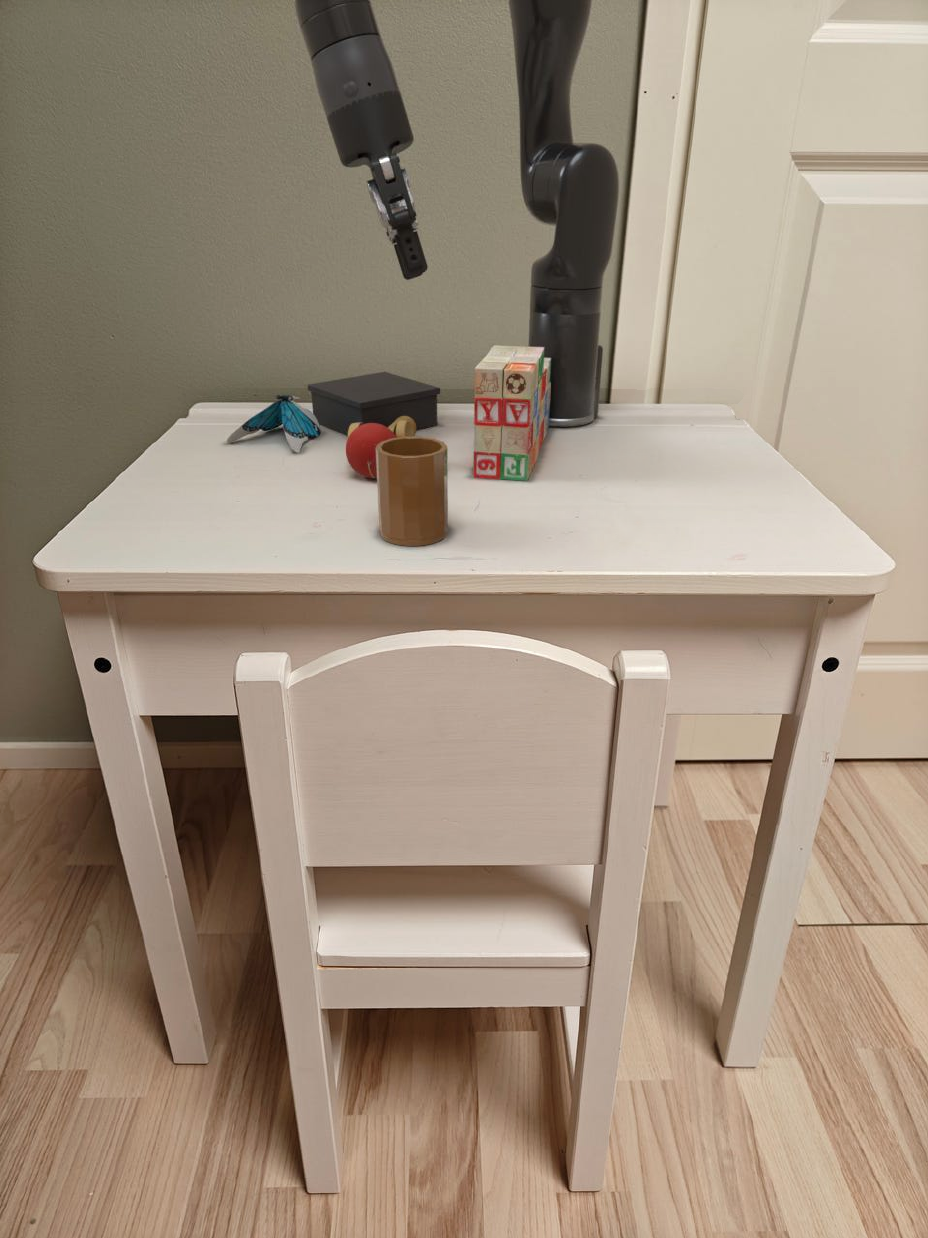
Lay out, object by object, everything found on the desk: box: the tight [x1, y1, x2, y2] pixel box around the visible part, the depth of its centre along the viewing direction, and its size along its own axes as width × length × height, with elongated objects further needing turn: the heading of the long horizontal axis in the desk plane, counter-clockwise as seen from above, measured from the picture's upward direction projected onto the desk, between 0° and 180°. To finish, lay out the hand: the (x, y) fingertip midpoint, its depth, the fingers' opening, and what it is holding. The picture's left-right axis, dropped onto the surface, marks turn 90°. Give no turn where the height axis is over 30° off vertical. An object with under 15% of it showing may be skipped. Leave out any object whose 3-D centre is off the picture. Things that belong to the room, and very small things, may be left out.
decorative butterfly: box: [226, 394, 321, 453], centre depth 109 cm, size 10×6×10 cm
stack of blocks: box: [472, 345, 551, 482], centre depth 102 cm, size 21×6×12 cm, turn 169°
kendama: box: [345, 416, 417, 480], centre depth 101 cm, size 8×6×18 cm
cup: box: [376, 436, 449, 547], centre depth 80 cm, size 6×6×8 cm
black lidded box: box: [307, 371, 441, 436], centre depth 115 cm, size 13×13×5 cm
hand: (416, 275), depth 88 cm, fingers open, 8 cm apart
